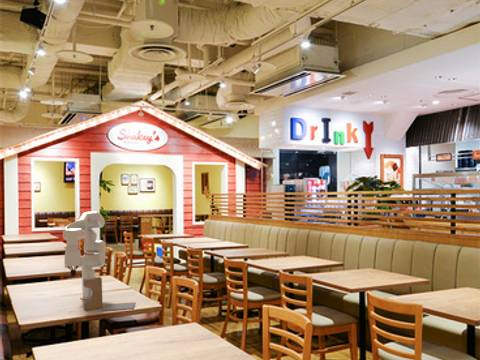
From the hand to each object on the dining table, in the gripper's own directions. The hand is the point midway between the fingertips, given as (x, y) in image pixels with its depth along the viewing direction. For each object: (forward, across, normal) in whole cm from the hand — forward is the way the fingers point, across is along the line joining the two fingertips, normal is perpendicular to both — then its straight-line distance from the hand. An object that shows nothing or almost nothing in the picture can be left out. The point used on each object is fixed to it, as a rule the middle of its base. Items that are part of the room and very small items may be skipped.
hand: (73, 275), depth 310 cm
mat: (+22, +29, -1) cm, 37 cm away
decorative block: (+23, +12, +1) cm, 26 cm away
